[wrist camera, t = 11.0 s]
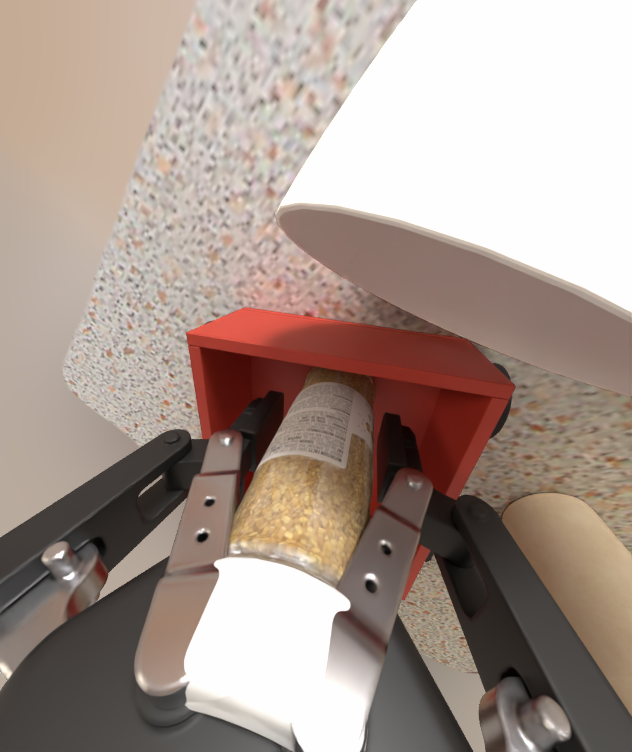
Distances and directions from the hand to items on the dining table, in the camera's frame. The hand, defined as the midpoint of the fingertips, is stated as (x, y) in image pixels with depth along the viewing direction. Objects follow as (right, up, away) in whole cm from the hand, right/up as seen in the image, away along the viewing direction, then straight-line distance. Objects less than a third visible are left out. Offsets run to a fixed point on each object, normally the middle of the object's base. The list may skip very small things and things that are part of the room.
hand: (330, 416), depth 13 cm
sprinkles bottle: (+1, +1, +3) cm, 4 cm away
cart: (0, -2, +5) cm, 6 cm away
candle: (+16, -8, +5) cm, 18 cm away
